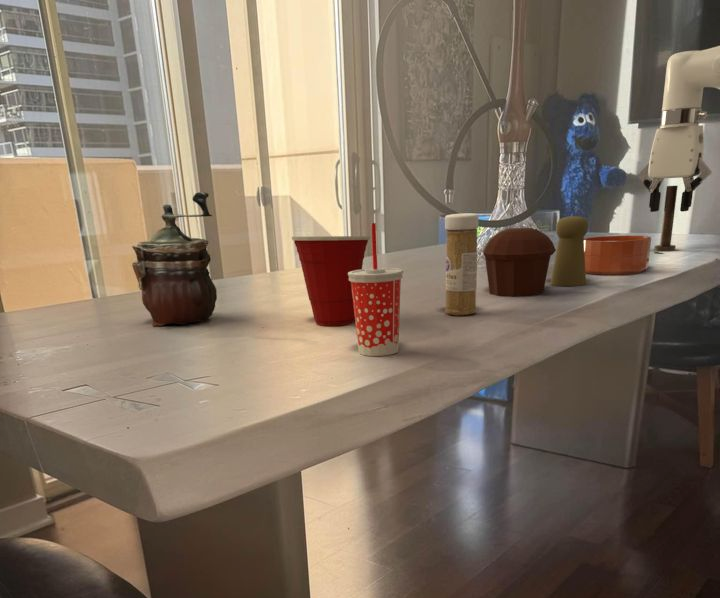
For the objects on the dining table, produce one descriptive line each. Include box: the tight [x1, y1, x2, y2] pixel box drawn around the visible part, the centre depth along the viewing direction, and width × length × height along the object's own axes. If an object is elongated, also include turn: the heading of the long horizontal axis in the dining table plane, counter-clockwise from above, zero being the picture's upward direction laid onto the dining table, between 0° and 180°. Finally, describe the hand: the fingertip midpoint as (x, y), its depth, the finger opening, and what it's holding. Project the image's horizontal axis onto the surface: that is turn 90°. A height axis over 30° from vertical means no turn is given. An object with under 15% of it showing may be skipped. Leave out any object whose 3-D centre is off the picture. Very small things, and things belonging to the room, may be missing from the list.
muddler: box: [653, 185, 678, 255], centre depth 154 cm, size 4×4×14 cm
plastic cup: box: [291, 235, 371, 327], centre depth 96 cm, size 11×11×12 cm
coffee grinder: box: [131, 191, 218, 327], centre depth 101 cm, size 13×15×18 cm
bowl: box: [584, 235, 652, 276], centre depth 132 cm, size 12×12×6 cm
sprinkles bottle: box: [444, 212, 479, 317], centre depth 97 cm, size 5×5×14 cm
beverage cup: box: [348, 222, 404, 357], centre depth 77 cm, size 6×6×14 cm
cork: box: [549, 215, 589, 287], centre depth 119 cm, size 6×6×11 cm
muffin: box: [482, 227, 557, 297], centre depth 113 cm, size 12×11×10 cm
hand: (669, 210), depth 153 cm, fingers open, 5 cm apart
